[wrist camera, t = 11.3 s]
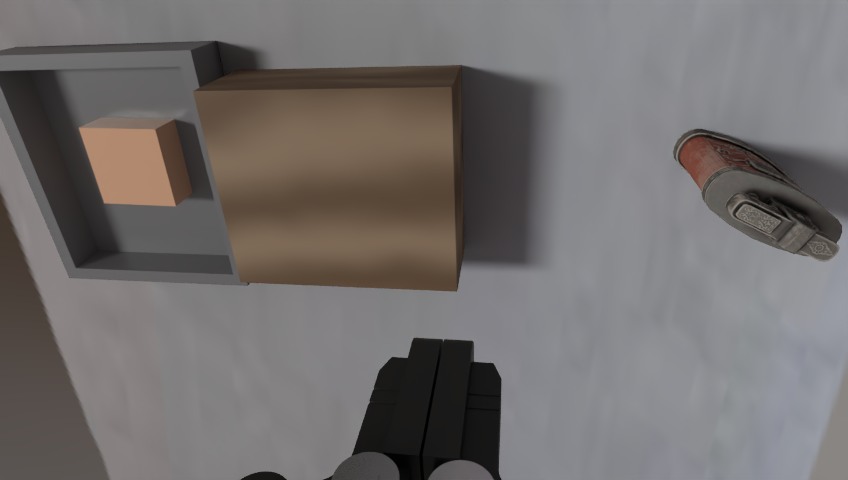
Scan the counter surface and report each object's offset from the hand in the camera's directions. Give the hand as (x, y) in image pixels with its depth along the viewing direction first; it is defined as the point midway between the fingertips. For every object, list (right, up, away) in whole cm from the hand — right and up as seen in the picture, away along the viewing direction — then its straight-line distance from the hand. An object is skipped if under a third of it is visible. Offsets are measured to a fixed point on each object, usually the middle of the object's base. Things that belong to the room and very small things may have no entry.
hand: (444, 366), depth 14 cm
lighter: (+20, +8, +23) cm, 32 cm away
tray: (-22, +9, +30) cm, 39 cm away
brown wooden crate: (-6, +9, +27) cm, 29 cm away
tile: (-22, +8, +27) cm, 36 cm away
